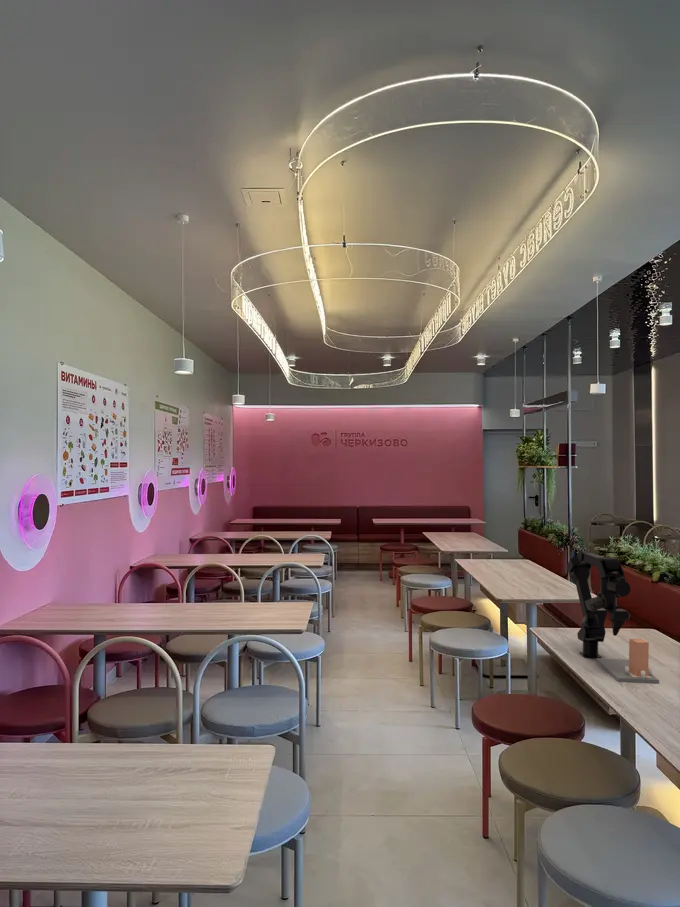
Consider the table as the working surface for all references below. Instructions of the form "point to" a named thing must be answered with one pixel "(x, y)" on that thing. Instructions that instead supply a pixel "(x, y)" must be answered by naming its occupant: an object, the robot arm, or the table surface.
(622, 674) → the base plate
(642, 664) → the terracotta block
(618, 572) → the robot arm
